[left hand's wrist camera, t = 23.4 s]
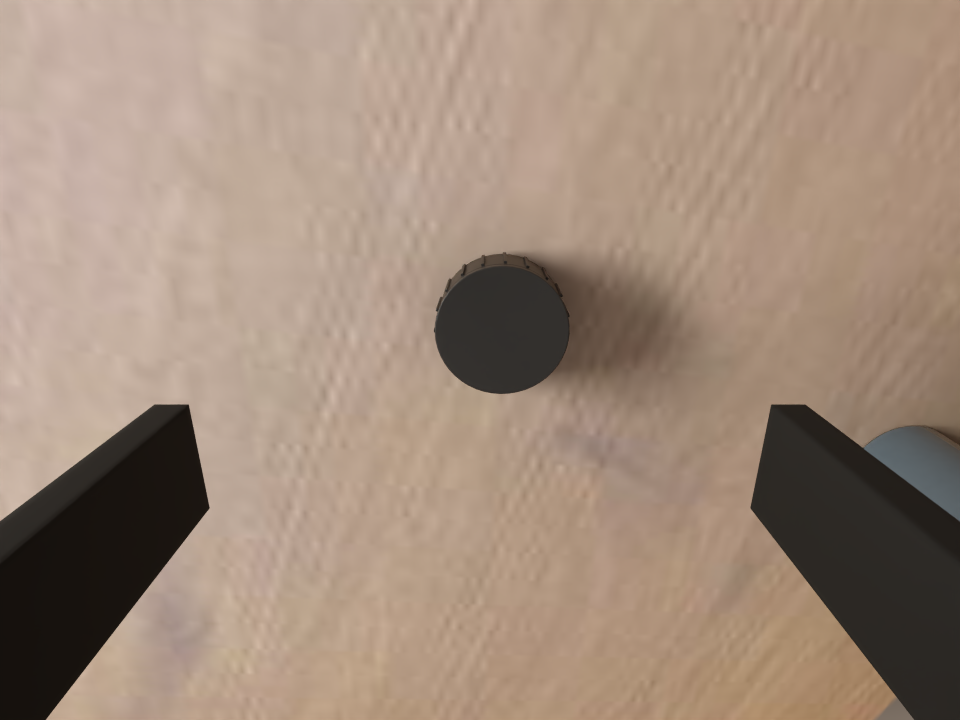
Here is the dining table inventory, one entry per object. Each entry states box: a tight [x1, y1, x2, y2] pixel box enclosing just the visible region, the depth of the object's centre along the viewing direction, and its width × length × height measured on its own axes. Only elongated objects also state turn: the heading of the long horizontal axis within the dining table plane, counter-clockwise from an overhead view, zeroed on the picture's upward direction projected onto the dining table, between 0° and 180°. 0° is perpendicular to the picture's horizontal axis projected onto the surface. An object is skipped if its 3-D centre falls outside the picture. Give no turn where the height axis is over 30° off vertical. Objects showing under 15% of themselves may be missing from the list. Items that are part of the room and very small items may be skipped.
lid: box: [434, 252, 569, 394], centre depth 20 cm, size 5×5×2 cm
